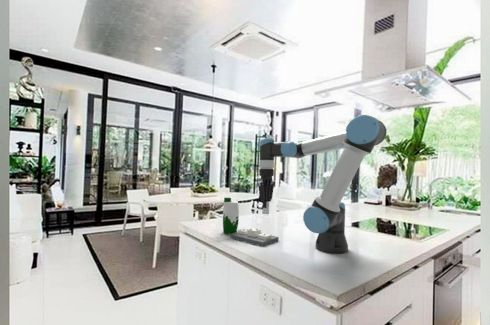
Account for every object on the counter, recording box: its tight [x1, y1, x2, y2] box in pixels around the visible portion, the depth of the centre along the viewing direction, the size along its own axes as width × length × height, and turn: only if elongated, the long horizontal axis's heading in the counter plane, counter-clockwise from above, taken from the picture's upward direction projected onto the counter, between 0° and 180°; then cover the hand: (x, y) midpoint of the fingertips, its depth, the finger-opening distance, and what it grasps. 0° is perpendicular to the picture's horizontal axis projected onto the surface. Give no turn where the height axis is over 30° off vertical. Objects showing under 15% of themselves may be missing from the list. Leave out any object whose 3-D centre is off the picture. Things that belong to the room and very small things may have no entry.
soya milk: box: [222, 197, 240, 235], centre depth 160 cm, size 9×9×20 cm
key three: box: [237, 228, 247, 235], centre depth 150 cm, size 5×5×4 cm
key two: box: [246, 227, 261, 237], centre depth 146 cm, size 5×5×4 cm
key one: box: [258, 232, 272, 240], centre depth 141 cm, size 5×5×4 cm
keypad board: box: [229, 231, 279, 247], centre depth 146 cm, size 22×14×2 cm, turn 50°
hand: (265, 214), depth 141 cm, fingers closed
